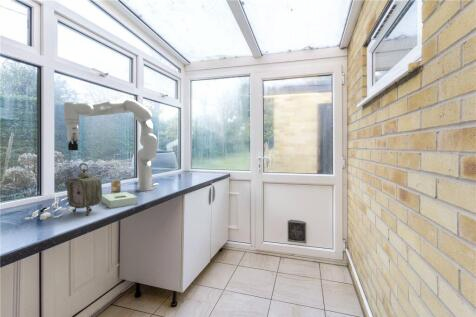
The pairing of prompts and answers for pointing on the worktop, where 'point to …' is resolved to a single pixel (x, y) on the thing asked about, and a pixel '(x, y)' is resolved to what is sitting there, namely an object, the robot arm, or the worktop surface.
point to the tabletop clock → (84, 191)
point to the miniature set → (47, 214)
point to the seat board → (119, 199)
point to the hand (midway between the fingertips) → (73, 150)
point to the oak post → (115, 186)
